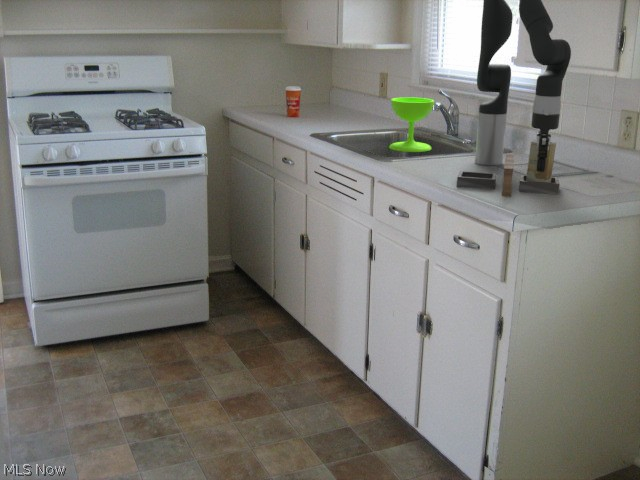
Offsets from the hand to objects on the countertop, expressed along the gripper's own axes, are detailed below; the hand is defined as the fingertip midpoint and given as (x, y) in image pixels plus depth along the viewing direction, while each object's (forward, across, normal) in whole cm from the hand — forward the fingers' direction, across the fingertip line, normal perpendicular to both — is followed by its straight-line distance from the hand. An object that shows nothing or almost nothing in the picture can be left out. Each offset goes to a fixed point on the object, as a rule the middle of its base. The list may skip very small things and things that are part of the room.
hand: (540, 169), depth 217 cm
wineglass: (+6, -55, -46) cm, 72 cm away
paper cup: (+7, -120, -112) cm, 164 cm away
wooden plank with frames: (+6, 0, -9) cm, 11 cm away
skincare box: (+4, 0, 0) cm, 4 cm away
